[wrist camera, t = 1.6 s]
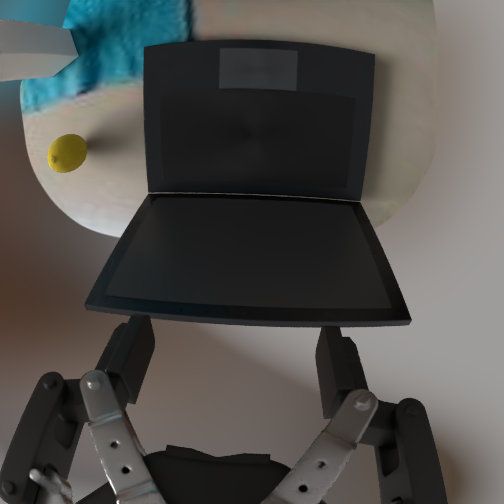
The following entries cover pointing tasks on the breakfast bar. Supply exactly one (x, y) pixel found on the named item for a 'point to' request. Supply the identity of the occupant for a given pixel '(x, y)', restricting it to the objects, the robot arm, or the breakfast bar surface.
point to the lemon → (67, 153)
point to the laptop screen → (251, 264)
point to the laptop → (257, 118)
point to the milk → (33, 50)
